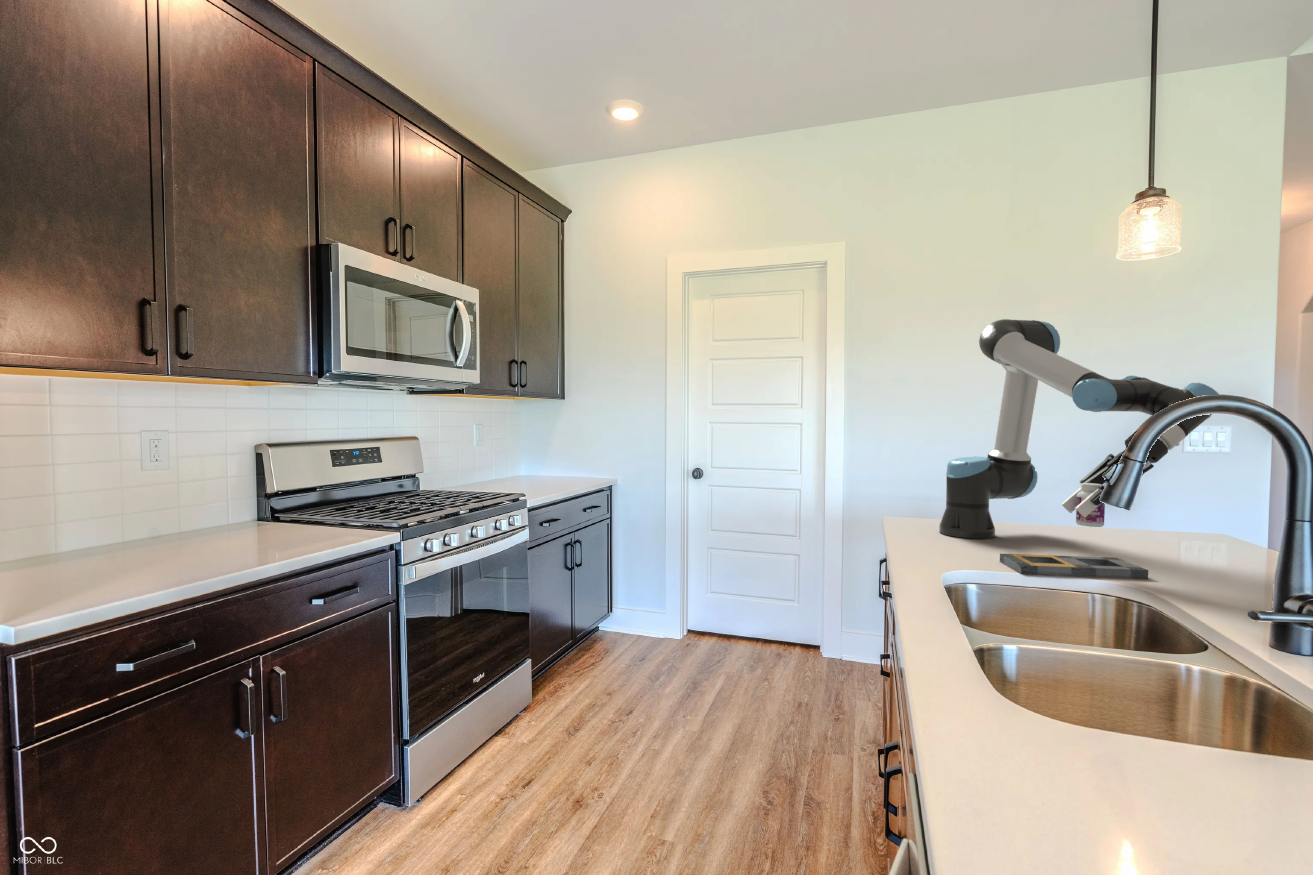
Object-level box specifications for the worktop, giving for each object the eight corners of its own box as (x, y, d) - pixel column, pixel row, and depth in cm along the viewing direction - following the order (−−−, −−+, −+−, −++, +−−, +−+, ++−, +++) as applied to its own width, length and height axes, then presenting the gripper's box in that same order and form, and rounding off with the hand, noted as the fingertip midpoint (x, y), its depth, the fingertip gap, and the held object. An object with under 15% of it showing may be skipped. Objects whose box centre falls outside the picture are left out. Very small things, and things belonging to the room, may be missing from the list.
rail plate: (999, 561, 150) (999, 553, 150) (1116, 565, 146) (1116, 557, 146) (1020, 573, 138) (1021, 564, 138) (1148, 579, 134) (1148, 569, 134)
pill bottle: (1079, 526, 139) (1080, 484, 139) (1073, 522, 144) (1074, 482, 144) (1107, 528, 137) (1109, 485, 137) (1100, 523, 142) (1101, 482, 142)
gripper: (1195, 454, 129) (1108, 529, 132) (1139, 449, 147) (1064, 515, 150) (1168, 429, 129) (1082, 505, 132) (1116, 427, 147) (1041, 493, 150)
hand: (1073, 510), depth 141 cm, fingers closed on pill bottle, 5 cm apart
